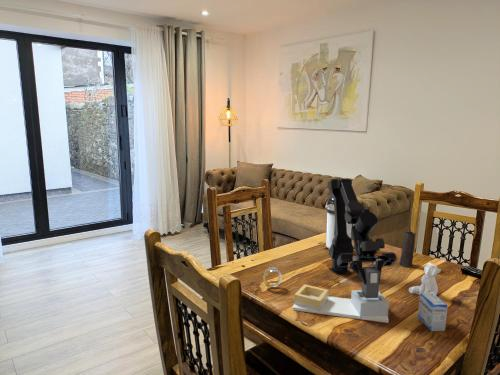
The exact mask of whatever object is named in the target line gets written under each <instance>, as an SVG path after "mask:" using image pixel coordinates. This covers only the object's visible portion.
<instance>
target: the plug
mask: <svg viewBox="0 0 500 375" xmlns="http://www.w3.org/2000/svg"><path fill="white" fill-rule="evenodd" d="M362 268H363V271H364V275H365V278H366V285H364V284H363V282H362V281H361V290H362V294H363V295H364V296H365V298H378V292H380V284H379V278H380V279H381V277H380V271H379V270H378V269H377V268H376V267H373V266H362Z"/></svg>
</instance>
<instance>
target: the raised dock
mask: <svg viewBox="0 0 500 375" xmlns="http://www.w3.org/2000/svg"><path fill="white" fill-rule="evenodd" d="M350 293H351V295H350V299H351V303H352V305H353V306H354V308H355V309H356V311H357V312H358V314H359V315H360V319H359V320H362V319H361V318H362V316H388V317H389V305H390V303H389V301H388V300H387V299H386V298H385V296H384V295H383V294H382V293H381V292H380V291H379V292H378V298H365V296H364V295H363V294H362V289H358V290H356V289H353V290H351V292H350Z"/></svg>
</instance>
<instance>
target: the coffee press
mask: <svg viewBox="0 0 500 375" xmlns="http://www.w3.org/2000/svg"><path fill="white" fill-rule="evenodd" d="M345 208H346V205H345ZM325 209H326V227H325V228H326V230H325V244H323V246H322V248H323V247H327V248H328V250H329V249H330V247H331V245H332V240H333V238H334V236H335V234H336V233H335V213H334V199H333V198H332V197H331V195H330V196H329V197H328V198H327V199H326V204H325ZM346 226H347V235H348V236H349V238H351V239H352V241H353V237H352V234H351V228H352V227H353V226H354V224H348V223H347V221H346ZM353 253H355V249H354V250H353Z"/></svg>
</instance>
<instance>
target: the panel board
mask: <svg viewBox="0 0 500 375" xmlns="http://www.w3.org/2000/svg"><path fill="white" fill-rule="evenodd" d="M296 310H297V311H298V312H306V313H312V314H313V313H314V314H319V311H318V310H314V309H311V308H307V307H303V306H300V305H296V304H294V303H293V305H292V311H296ZM320 315H327V316H332V317H333V316H335V317H343V318H350V319H357V320H362V321H363V320H364V321H372V322H373V321H374V322H378V323H387V324H388V323H389V315H388V316H362V318H361V319H360V315H359V314H358V312H357V311H356V309H355V308H354V306H353V305H352V303H351V298H344V297H336V296H329V297H328V301H327V302H326V303H325V305H324V306H323V307H322V308H321V310H320Z"/></svg>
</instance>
